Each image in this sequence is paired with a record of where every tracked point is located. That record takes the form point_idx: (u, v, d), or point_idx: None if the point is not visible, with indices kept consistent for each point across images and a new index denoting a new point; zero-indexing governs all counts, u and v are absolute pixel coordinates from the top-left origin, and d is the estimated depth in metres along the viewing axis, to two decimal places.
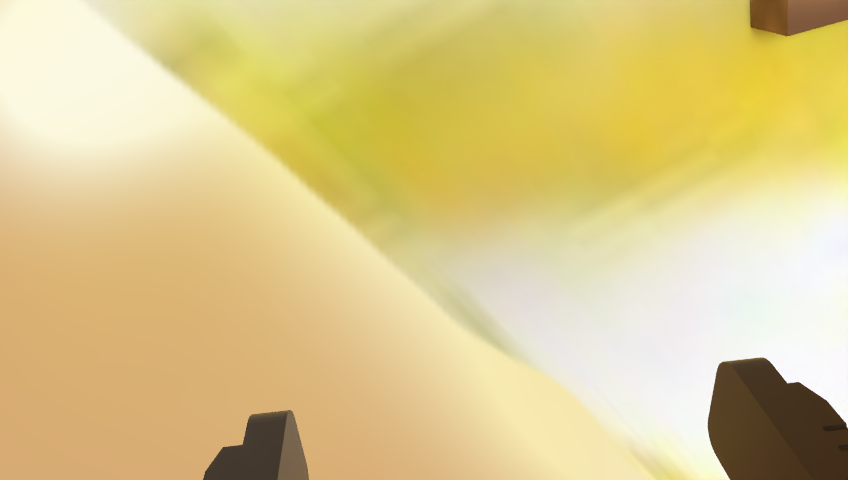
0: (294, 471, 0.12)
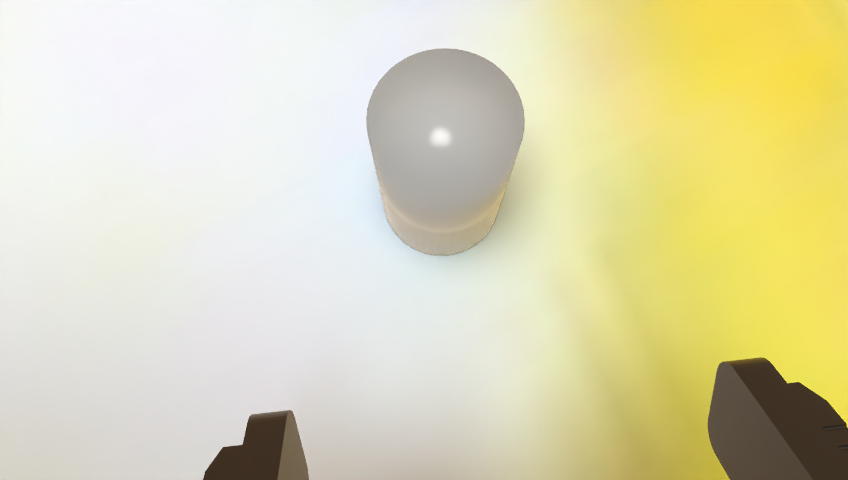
0: (294, 471, 0.12)
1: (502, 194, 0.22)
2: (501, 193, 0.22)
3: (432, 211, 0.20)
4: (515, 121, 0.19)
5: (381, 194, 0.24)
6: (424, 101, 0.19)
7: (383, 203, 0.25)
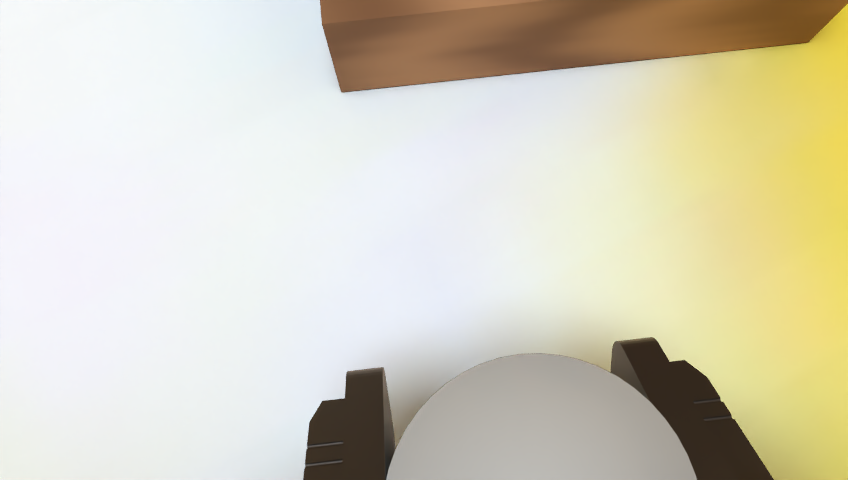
0: (388, 423, 0.12)
1: None
2: None
3: None
4: None
5: None
6: (498, 473, 0.10)
7: None
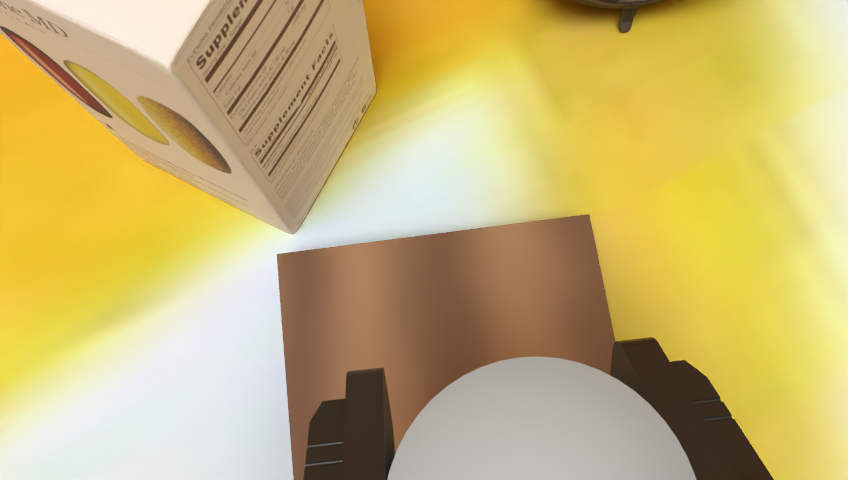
0: (388, 423, 0.12)
1: None
2: None
3: None
4: None
5: None
6: (498, 477, 0.10)
7: None
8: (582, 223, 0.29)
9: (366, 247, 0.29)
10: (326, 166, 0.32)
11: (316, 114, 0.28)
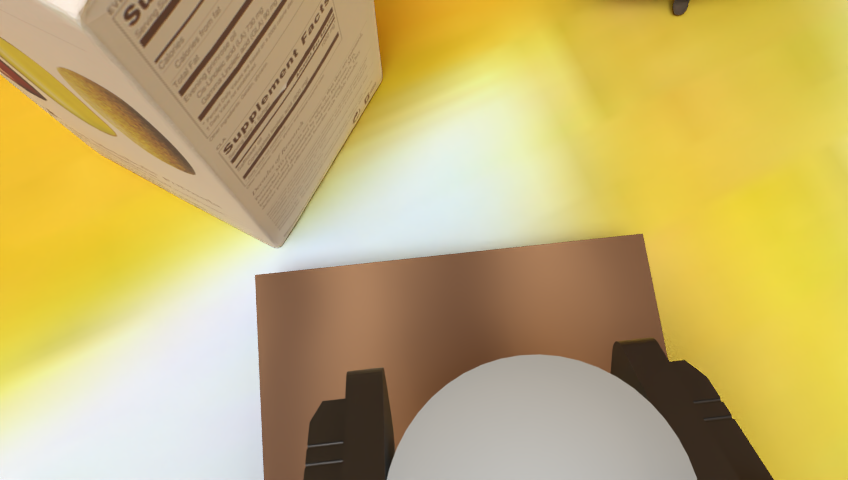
0: (388, 423, 0.12)
1: None
2: None
3: None
4: None
5: None
6: (498, 475, 0.10)
7: None
8: (634, 245, 0.24)
9: (366, 269, 0.23)
10: (319, 167, 0.27)
11: (307, 102, 0.22)
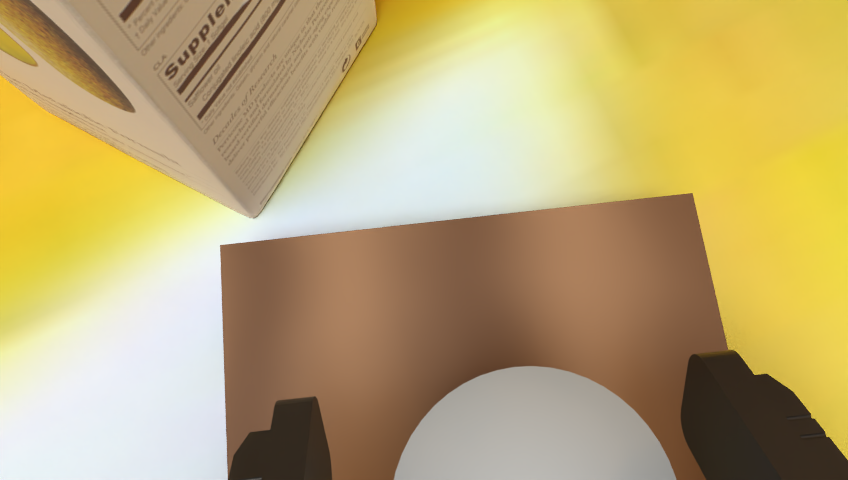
0: (319, 455, 0.12)
1: None
2: None
3: None
4: None
5: None
6: (495, 476, 0.10)
7: None
8: (682, 206, 0.19)
9: (355, 237, 0.19)
10: (301, 121, 0.22)
11: (281, 29, 0.18)
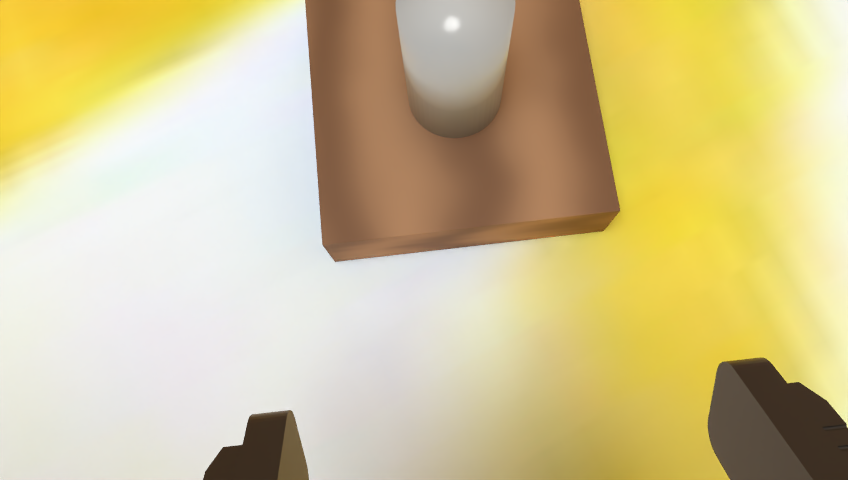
0: (294, 471, 0.12)
1: (501, 74, 0.28)
2: (500, 71, 0.28)
3: (445, 79, 0.26)
4: (508, 4, 0.25)
5: (406, 81, 0.30)
6: None
7: (407, 92, 0.31)
8: None
9: None
10: None
11: None
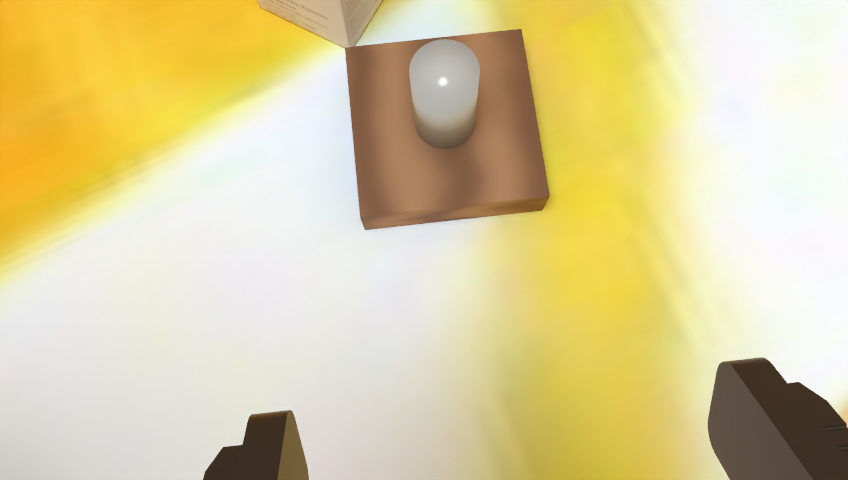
0: (294, 471, 0.12)
1: (473, 110, 0.46)
2: (471, 109, 0.45)
3: (438, 114, 0.44)
4: (475, 71, 0.43)
5: (414, 112, 0.47)
6: (435, 62, 0.43)
7: (414, 118, 0.48)
8: (517, 33, 0.52)
9: (395, 44, 0.52)
10: (371, 8, 0.55)
11: None
